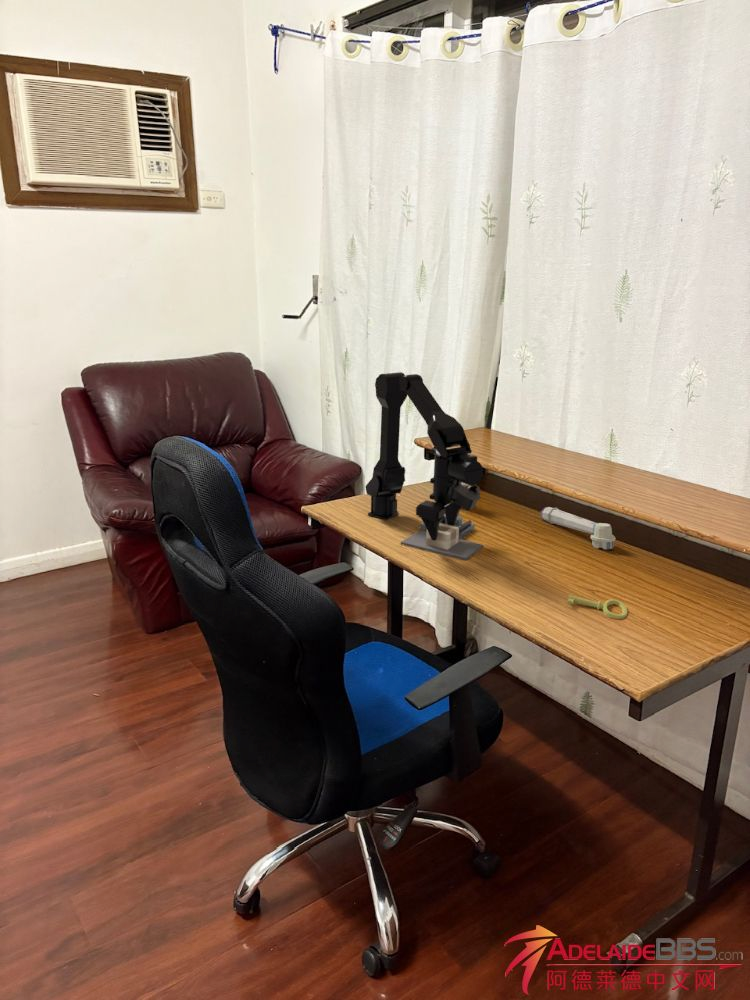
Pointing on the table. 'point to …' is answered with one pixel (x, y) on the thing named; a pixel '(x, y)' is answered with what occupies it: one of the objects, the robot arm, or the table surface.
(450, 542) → the collar
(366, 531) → the table surface
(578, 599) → the key
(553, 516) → the grey pipe fitting
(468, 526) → the vise
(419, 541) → the charcoal mat
